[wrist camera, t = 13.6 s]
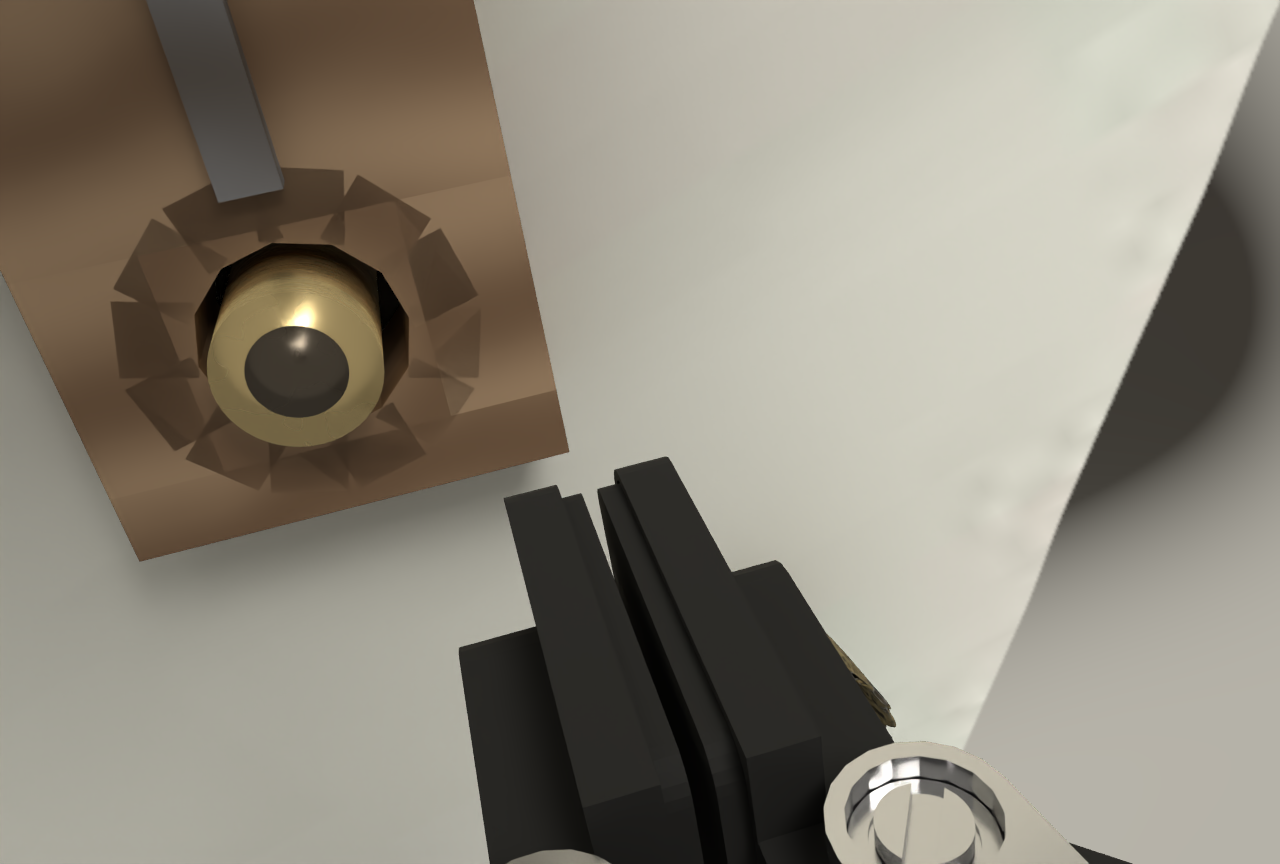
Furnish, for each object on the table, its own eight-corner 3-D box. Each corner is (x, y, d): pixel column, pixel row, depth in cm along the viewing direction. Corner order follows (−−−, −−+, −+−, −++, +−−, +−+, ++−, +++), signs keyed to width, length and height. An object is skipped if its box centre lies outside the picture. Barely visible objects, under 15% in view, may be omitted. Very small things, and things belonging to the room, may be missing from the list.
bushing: (210, 230, 33) (180, 315, 26) (355, 198, 33) (357, 275, 27) (258, 358, 35) (240, 465, 29) (393, 327, 35) (403, 424, 29)
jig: (-103, -125, 27) (-204, -120, 22) (413, -210, 29) (428, -224, 24) (163, 477, 36) (135, 577, 31) (543, 383, 38) (574, 464, 33)
